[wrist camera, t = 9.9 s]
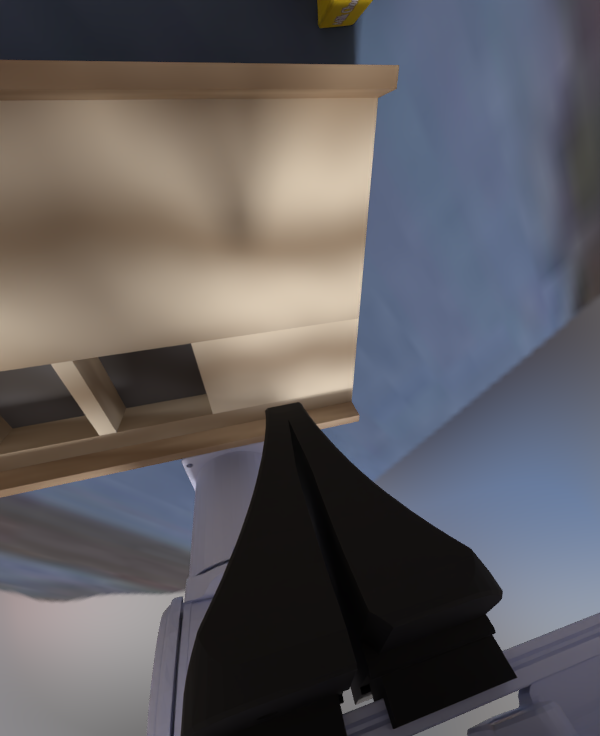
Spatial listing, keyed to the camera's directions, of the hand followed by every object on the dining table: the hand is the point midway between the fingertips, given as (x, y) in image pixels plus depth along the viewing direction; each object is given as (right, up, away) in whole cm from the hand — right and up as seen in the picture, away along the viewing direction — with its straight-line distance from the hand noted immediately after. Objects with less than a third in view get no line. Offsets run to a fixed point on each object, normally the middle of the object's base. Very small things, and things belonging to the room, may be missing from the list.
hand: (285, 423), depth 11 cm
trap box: (-11, +5, +5) cm, 13 cm away
